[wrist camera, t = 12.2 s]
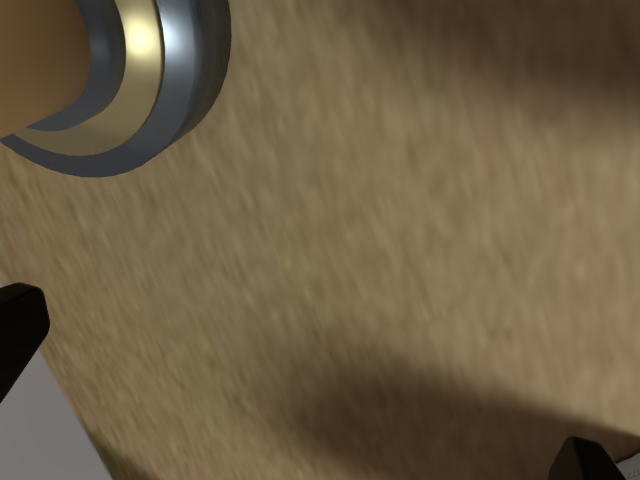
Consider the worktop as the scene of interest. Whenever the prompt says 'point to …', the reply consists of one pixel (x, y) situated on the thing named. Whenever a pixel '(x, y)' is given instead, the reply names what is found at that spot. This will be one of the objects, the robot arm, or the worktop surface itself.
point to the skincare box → (630, 467)
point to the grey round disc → (144, 91)
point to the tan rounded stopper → (58, 62)
